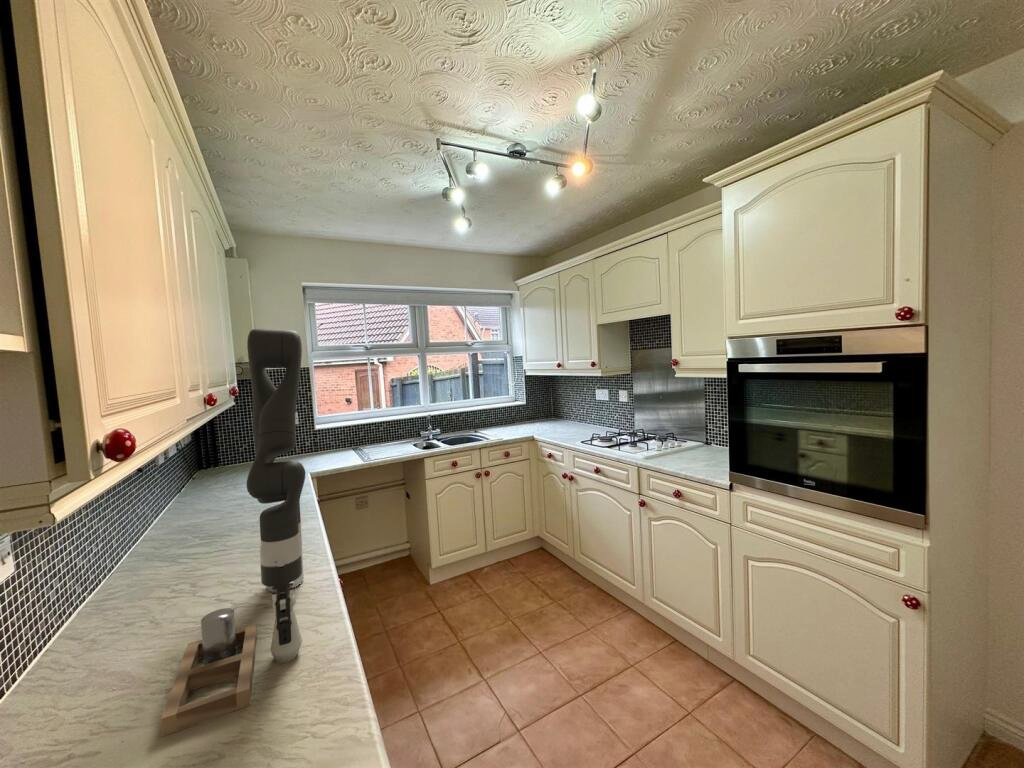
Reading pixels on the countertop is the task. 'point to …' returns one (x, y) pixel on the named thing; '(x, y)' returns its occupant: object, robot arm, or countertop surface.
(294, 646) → the salt shaker
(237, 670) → the spice rail
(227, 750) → the countertop surface
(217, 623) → the pepper shaker
